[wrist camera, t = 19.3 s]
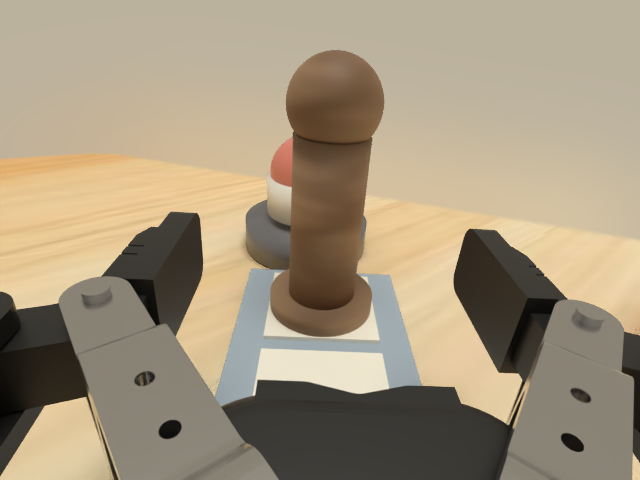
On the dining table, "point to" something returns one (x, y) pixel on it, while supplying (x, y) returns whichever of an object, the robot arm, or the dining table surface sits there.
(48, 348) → the robot arm
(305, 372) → the track
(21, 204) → the dining table surface
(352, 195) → the pawn
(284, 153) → the dome plunger
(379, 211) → the dining table surface
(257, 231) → the dome housing
